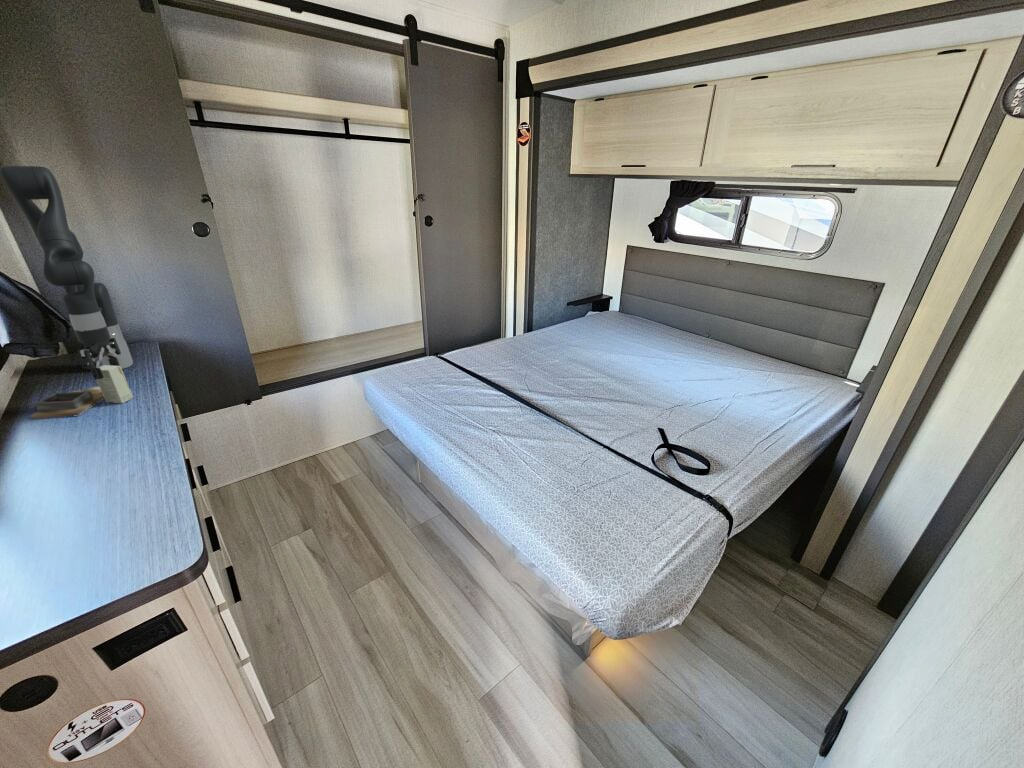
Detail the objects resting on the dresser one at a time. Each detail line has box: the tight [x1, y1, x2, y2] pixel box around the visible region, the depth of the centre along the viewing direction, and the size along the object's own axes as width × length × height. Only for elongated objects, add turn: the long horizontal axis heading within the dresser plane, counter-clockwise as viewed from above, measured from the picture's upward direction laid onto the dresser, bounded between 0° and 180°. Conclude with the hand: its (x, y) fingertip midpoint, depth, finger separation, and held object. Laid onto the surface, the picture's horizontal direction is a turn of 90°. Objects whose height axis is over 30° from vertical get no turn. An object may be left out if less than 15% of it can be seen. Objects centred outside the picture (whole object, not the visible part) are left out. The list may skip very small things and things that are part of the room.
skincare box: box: [95, 365, 134, 404], centre depth 139 cm, size 6×4×12 cm
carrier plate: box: [30, 386, 105, 420], centre depth 137 cm, size 18×12×4 cm, turn 12°
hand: (108, 373), depth 138 cm, fingers open, 8 cm apart
